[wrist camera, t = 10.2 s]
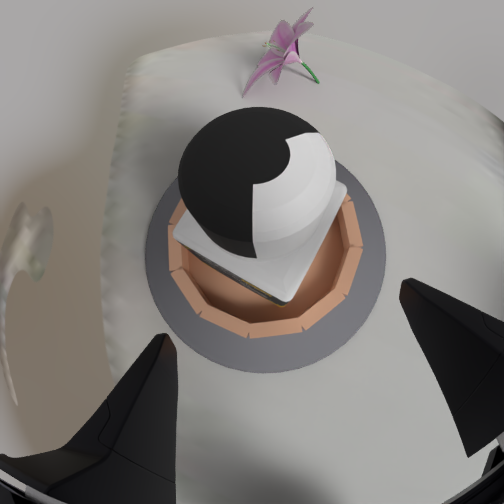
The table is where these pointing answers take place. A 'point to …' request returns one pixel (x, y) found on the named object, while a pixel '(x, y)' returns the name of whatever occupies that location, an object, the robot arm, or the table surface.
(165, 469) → the robot arm
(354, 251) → the terracotta bowl
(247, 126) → the medicine bottle
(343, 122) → the table surface
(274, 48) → the lily
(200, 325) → the rubber mat
